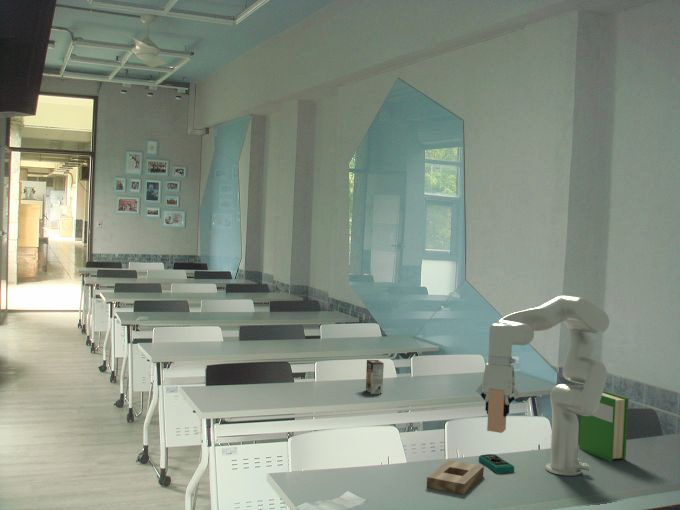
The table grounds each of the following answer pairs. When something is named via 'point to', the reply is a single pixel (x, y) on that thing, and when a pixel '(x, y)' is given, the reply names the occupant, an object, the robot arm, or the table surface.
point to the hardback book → (606, 428)
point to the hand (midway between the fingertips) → (497, 413)
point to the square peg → (496, 411)
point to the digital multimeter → (496, 463)
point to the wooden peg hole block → (455, 477)
